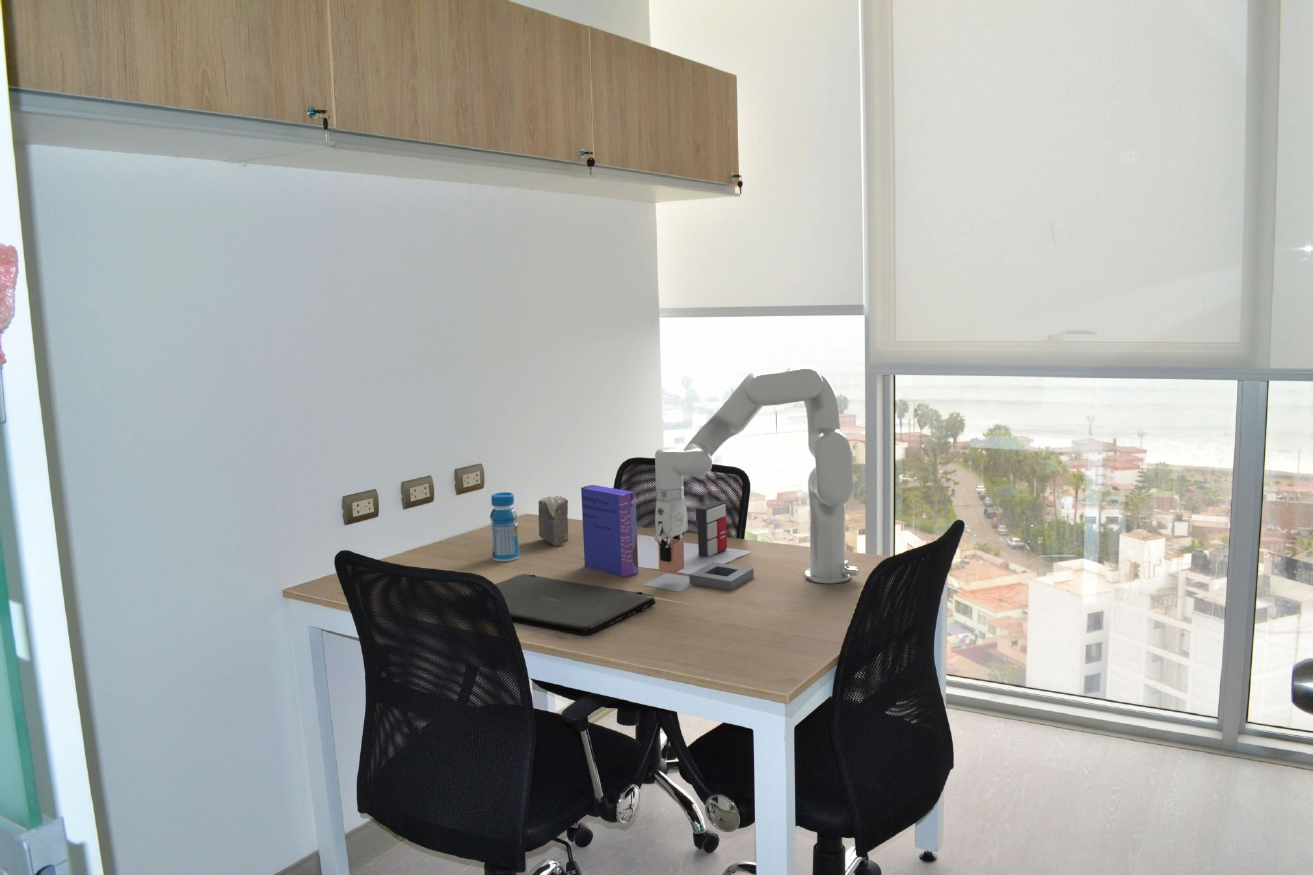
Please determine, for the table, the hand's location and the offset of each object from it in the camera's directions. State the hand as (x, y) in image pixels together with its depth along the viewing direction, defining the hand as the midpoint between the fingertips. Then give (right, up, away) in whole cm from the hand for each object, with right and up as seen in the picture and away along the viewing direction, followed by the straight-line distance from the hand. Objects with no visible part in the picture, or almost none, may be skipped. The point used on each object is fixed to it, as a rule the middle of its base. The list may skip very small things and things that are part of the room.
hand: (671, 557), depth 267 cm
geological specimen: (-37, -1, +48) cm, 60 cm away
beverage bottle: (-50, -4, +32) cm, 59 cm away
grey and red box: (+13, -2, +30) cm, 32 cm away
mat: (0, -7, +1) cm, 8 cm away
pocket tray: (+14, -7, +2) cm, 16 cm away
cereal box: (-17, -6, +16) cm, 24 cm away
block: (0, -3, +1) cm, 3 cm away
